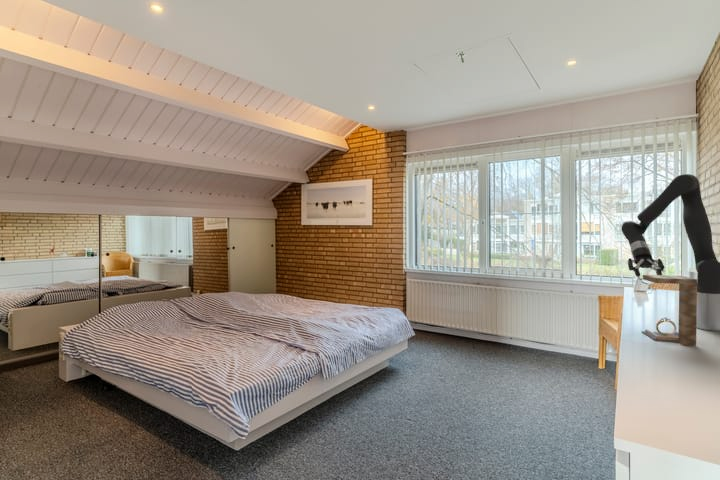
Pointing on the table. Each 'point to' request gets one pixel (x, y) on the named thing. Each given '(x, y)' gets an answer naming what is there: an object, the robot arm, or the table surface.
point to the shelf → (683, 305)
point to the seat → (661, 336)
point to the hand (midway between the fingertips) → (649, 276)
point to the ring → (666, 321)
